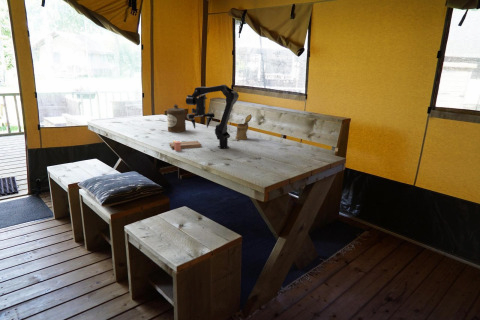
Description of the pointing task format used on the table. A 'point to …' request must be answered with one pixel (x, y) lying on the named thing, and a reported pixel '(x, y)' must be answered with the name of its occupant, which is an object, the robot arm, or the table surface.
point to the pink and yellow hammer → (177, 145)
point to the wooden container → (176, 119)
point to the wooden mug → (243, 129)
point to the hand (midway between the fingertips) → (201, 127)
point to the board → (187, 144)
